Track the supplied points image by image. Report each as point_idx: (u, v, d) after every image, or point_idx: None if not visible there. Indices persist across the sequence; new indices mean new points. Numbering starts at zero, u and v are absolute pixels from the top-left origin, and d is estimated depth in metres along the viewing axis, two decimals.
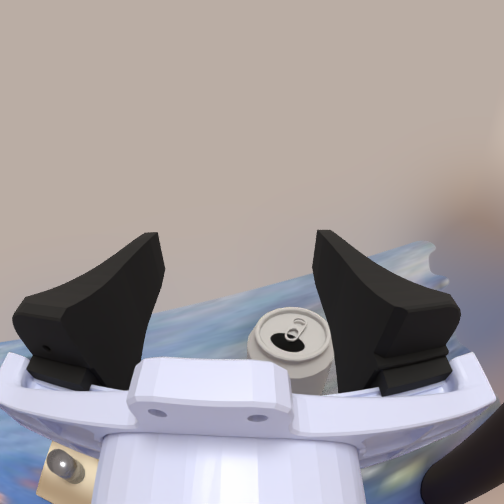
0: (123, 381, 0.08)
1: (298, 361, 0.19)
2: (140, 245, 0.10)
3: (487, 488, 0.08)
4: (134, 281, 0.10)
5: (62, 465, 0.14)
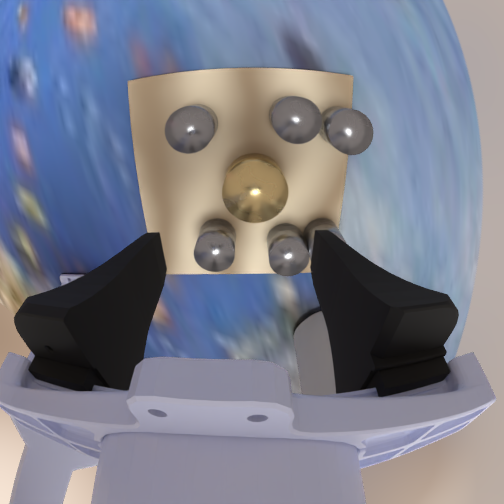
0: (126, 381, 0.08)
1: None
2: (142, 245, 0.10)
3: None
4: (136, 281, 0.10)
5: (185, 140, 0.16)
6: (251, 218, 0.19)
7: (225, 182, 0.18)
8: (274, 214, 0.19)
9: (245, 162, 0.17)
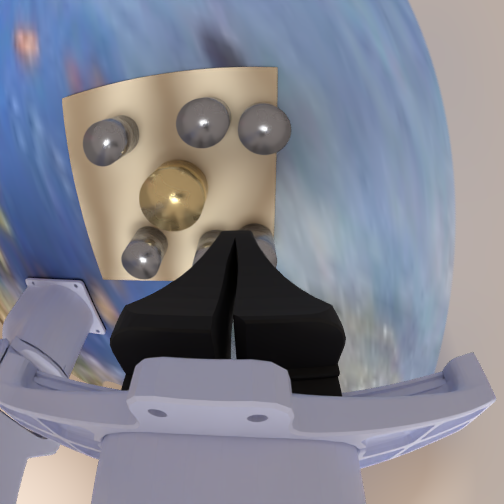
0: None
1: None
2: (229, 243, 0.10)
3: None
4: (229, 282, 0.10)
5: (100, 153, 0.15)
6: (170, 227, 0.18)
7: (141, 192, 0.17)
8: (191, 221, 0.18)
9: (158, 171, 0.16)
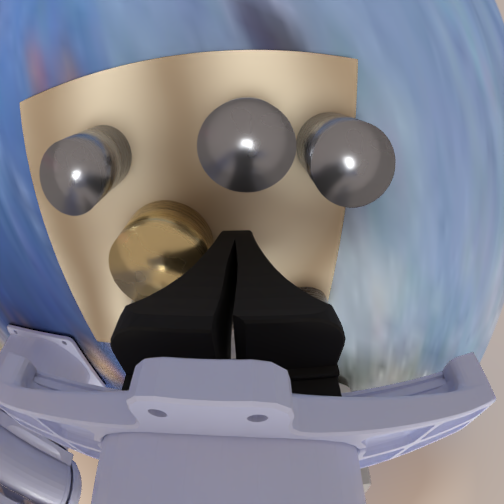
0: None
1: None
2: (230, 243, 0.10)
3: None
4: (229, 282, 0.10)
5: (66, 195, 0.08)
6: None
7: (110, 258, 0.11)
8: None
9: (131, 227, 0.10)
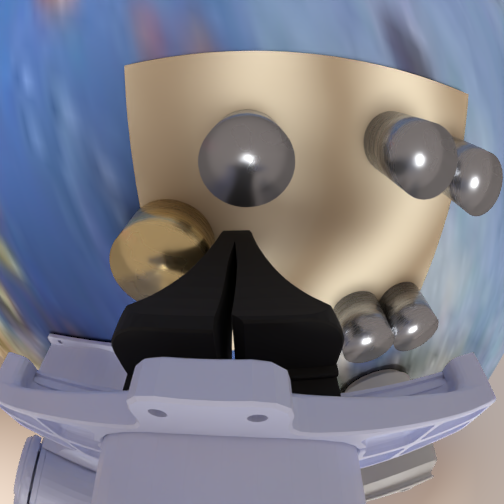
0: None
1: (366, 498, 0.14)
2: (231, 243, 0.10)
3: None
4: (230, 282, 0.10)
5: (239, 182, 0.09)
6: None
7: (111, 255, 0.11)
8: None
9: (133, 225, 0.10)
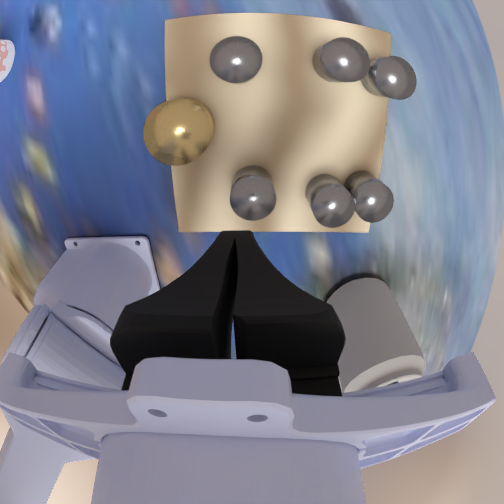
0: None
1: None
2: (229, 243, 0.10)
3: None
4: (229, 282, 0.10)
5: (231, 68, 0.13)
6: (174, 161, 0.17)
7: (146, 123, 0.15)
8: (197, 154, 0.17)
9: (165, 101, 0.15)
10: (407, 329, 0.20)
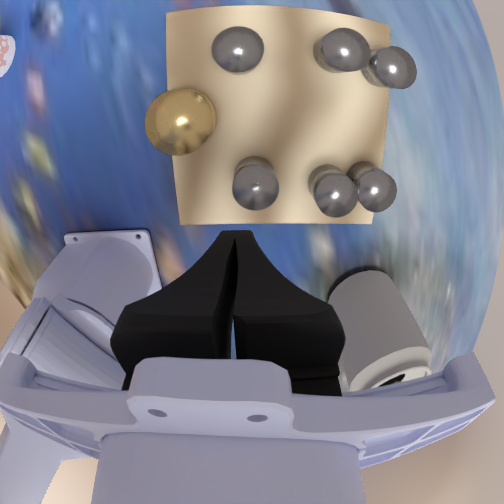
0: None
1: None
2: (229, 243, 0.10)
3: None
4: (229, 282, 0.10)
5: (233, 58, 0.13)
6: (175, 150, 0.16)
7: (147, 113, 0.15)
8: (199, 143, 0.16)
9: (166, 91, 0.14)
10: (412, 321, 0.20)
